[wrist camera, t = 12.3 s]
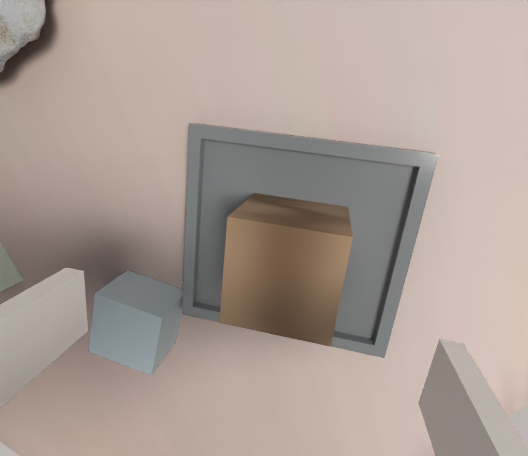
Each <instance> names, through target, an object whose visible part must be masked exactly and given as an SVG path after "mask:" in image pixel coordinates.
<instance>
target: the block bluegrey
mask: <svg viewBox="0 0 528 456" xmlns="http://www.w3.org/2000/svg"><path fill="white" fill-rule="evenodd" d="M182 298H183V290H182V289H179V288H177V287H174V286H171V285H168V284H165V283H162V282H160V281H157V280H154V279H151V278H148V277H145V276H142V275H140V274H137V273H134V272H131V271H128V270H127V271H126V272H124V273H123V274H121V275H120V276H119V277H117V278H116V279H114V280H113V281H111V282H110V283H109V284H107V285H106V286H104V287H103V288H102V289H100V290H99V291H97V292H96V293H95V294H94V303H93V313H92V322H91V332H90V342H89V351H88V352H91V353H93V354H96V355H99V356H101V357H104V358H106V359H109V360H112V361H114V362H117V363H119V364H122V365H125V366H127V367H130V368H132V369H135V370H138V371H140V372H143V373H145V374H148V375H151V376H152V374H153V373H154V371H155V370H156V369H157V367H158V366H159V365H160V363H161V362H162V360H163V359H164V358H165V356H166V355H167V354H168V352H169V351H170V349H171V348H172V347H173V345H174V344H175V342H176V337H177V333H178V328H179V323H180V319H181V314H182Z"/></svg>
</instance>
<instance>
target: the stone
mask: <svg viewBox="0 0 528 456" xmlns="http://www.w3.org/2000/svg"><path fill="white" fill-rule="evenodd" d="M45 15H46V7H45V0H0V72H2V71H3V70H4V66H5V62H6V61H7V60H8V59H10V58H11V57H12V56H13V55H15V54H16V53H18V52H19V50H20V48H21V47H24V46H26V44H27V43H28V42H29V41H33V40H36V39H38V38H39V36H40V31H41V27H42V26H43V24H44V22H45Z"/></svg>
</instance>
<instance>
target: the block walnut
mask: <svg viewBox="0 0 528 456" xmlns="http://www.w3.org/2000/svg"><path fill="white" fill-rule="evenodd" d="M352 239H353V235H352V228H351V222H350V215H349V209H348V207H345V206H338V205H332V204H325V203H318V202H312V201H305V200H298V199H292V198H285V197H278V196H272V195H265V194H258V193H254V194H253V195H252V196H251V197H250V198H249V199H247V200H246V201H245V202H244V203H243V204H242V205H240V206H239V207H238V208H237V209H236V210H235V211H233V212H232V213H231V214H230V215H229V216H228V217H227V229H226V242H225V255H224V268H223V281H222V294H221V307H220V320H219V323H224V324H229V325H233V326H238V327H243V328H247V329H252V330H257V331H261V332H266V333H271V334H275V335H280V336H284V337H289V338H294V339H298V340H303V341H308V342H312V343H317V344H322V345H326V346H331V343H332V338H333V333H334V328H335V323H336V318H337V313H338V308H339V303H340V299H341V294H342V289H343V284H344V279H345V274H346V269H347V264H348V259H349V254H350V249H351V244H352Z"/></svg>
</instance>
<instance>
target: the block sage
mask: <svg viewBox="0 0 528 456" xmlns="http://www.w3.org/2000/svg"><path fill="white" fill-rule="evenodd" d="M21 281H23V278H22V277H21V275H20V273H19V272H18V270H17V268H16V267H15V265H14V264H13V262H12V260H11V259H10V257H9V255H8V254H7V252H6V250H5V249H4V247H3V245H2V244H1V242H0V292H1V291H3V290H5V289H7V288H9V287H11V286H13V285H15V284H17V283H19V282H21Z"/></svg>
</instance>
